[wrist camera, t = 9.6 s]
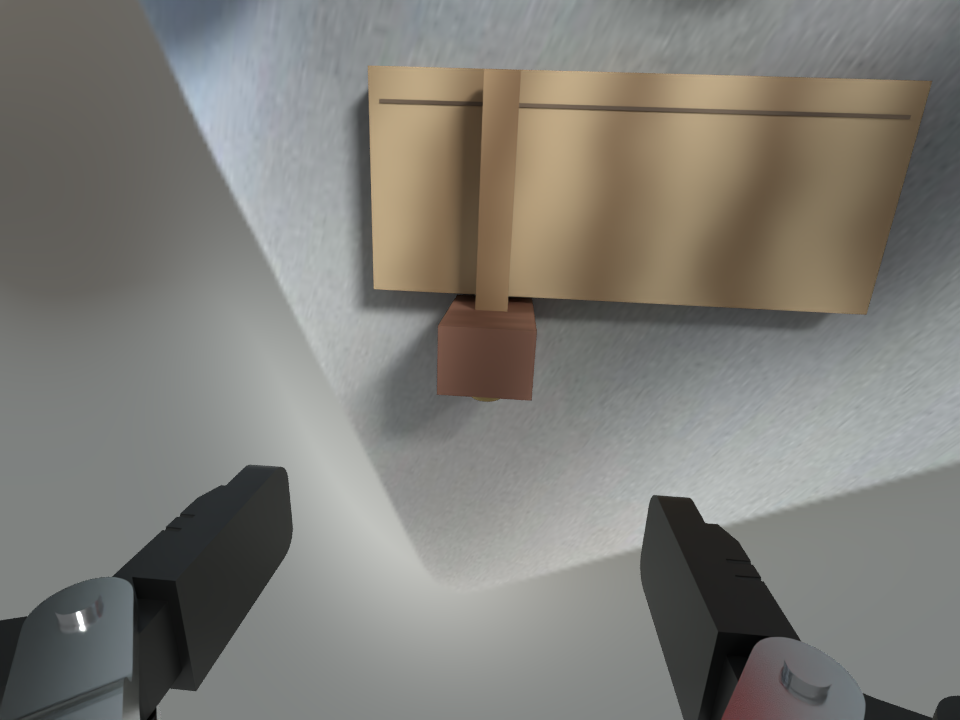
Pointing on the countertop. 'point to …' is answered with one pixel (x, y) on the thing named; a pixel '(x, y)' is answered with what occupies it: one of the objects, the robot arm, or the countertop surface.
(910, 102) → the board
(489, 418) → the countertop surface
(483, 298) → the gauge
